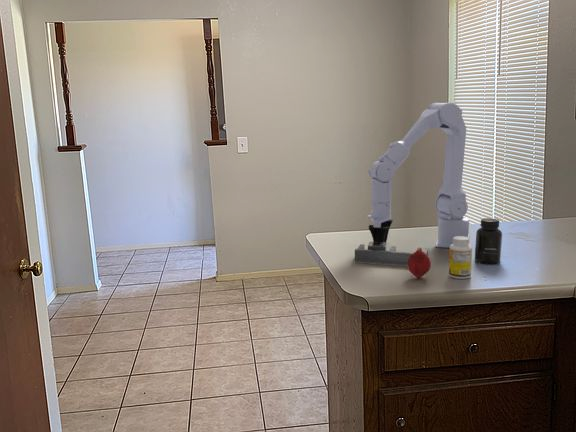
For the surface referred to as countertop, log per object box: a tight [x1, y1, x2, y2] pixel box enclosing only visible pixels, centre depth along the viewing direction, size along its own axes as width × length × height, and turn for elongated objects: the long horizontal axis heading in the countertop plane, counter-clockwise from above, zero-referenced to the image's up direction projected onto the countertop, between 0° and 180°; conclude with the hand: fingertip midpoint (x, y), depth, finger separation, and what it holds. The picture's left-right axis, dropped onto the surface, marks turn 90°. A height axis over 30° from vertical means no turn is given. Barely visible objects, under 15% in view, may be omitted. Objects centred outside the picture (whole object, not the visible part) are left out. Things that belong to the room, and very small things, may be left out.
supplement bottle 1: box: [448, 236, 473, 280], centre depth 144 cm, size 6×6×10 cm
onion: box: [407, 247, 432, 279], centre depth 144 cm, size 6×6×8 cm
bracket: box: [353, 243, 429, 267], centre depth 160 cm, size 20×10×4 cm, turn 72°
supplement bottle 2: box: [474, 217, 503, 265], centre depth 157 cm, size 7×7×12 cm
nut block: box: [367, 241, 388, 251], centre depth 164 cm, size 5×5×4 cm
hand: (380, 245), depth 170 cm, fingers open, 7 cm apart
